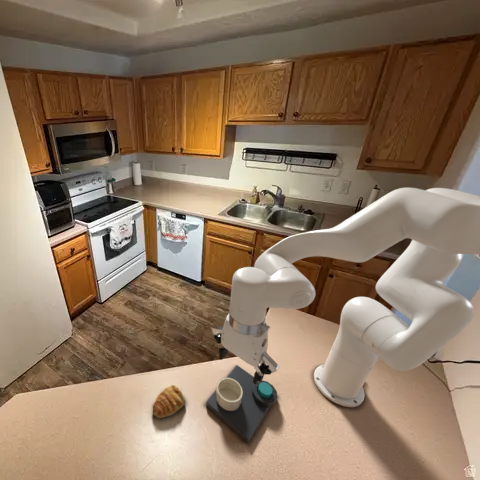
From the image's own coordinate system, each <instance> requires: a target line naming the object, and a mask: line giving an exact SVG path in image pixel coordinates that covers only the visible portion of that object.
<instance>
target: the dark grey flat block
mask: <svg viewBox="0 0 480 480" xmlns="http://www.w3.org/2000/svg"><path fill="white" fill-rule="evenodd" d="M225 378H231V379H234V380H236V381H237V382H238V383H239V384H240V386H241V387H242V391H243V394H242V400H241V404H240V406H239V408H238V409H236V410H234V411H228V410H225V409H223V408H222V407H221V406H220V405H219V404H218V402H217V400H216V390H217V388H215V389H216V390H215V391H214V392H213V393H212V394H211V396H210V397H209V398H208V399H207V401H206V403H205V406H206V407H207V408H208V409H210V410H211V411H212V412H213V414H215V415H216V417H218V418H219V419H220V420H222V421H223V422H224V423H225V424H226V425H227V426H228V427H230V428H231V429H232V430H233V431H234V432H235V433H236V434H237V435H238V436H239V437H241V438H242V439H243V440H244V441H245V442H246V443H247V444H249V442H250V441H251V439H252V437H253V436H254V434H255V432H256V431H257V429H258V427H259V426H260V424H261V422H262V421H263V420H264V417H265V416H266V415H267V413H268V411H269V409H270V408H271V407H272V406H274V405H275V404H276V402H277V400H278V391H277V390H276V388H275V386H274V385H273V384H272V383H270V382H268V381H267V380H263V379H262V381H261V382H260V381H258V382H257V384H256V385H255V384H254V383H253V379H254V375H252V374H250V373H249V372H248V371H247V370H244V369H243V368H242V367H240V366H239V365H238V364H236V365H235V366H234V368H232V370H231V371H230V372H229V374H228V375H227V376H226V377H225ZM262 382H265V383H268V384H269V385H270V386H271V387H272V394H271V397H270V398H263V397H261V396H260V395H259V393H258V387H259V384H260V383H262Z"/></svg>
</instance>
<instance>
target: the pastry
mask: <svg viewBox="0 0 480 480" xmlns="http://www.w3.org/2000/svg"><path fill="white" fill-rule="evenodd" d="M186 403H187V402H186V398H185V396H184V394H183V393H182V391H181V390H180V388H179V387H178V386H176V385H175V384H171V385H170V386H168V387H166V388H164V389H163V391H161V392H160V393H159V394H158V395H157V398H156V399H155V401H154V403H153V404H152V414H153V415H154V416H155V417H157V418H158V419H163V418H165V417H169V416H173V415H174V414H175V413H176V412H178V411H179V410H180V409H182V408H183V407H184V406H185V405H186Z"/></svg>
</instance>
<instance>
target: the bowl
mask: <svg viewBox="0 0 480 480" xmlns="http://www.w3.org/2000/svg"><path fill="white" fill-rule="evenodd" d="M216 389H217V390H215V391H216V400H217V402H218V404H219V405H220V406H221V407H222V408H223V409H225V410H228V411H234V410H236V409H238V408H239V406H240V404H241V400H242V394H243V391H242V387H241V386H240V384H239V383H238V382H237V381H236V380H234V379H231V378H226V377H223V378H221V379H220V380H218V382H217V384H216Z"/></svg>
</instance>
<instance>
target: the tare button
mask: <svg viewBox="0 0 480 480" xmlns="http://www.w3.org/2000/svg"><path fill="white" fill-rule="evenodd" d="M258 393H259V395H260V396H261V397H263V398H270V397H271V394H272V387H271V386H270V385H269V384H268V383H265V382H262V383H260V384H259V387H258Z"/></svg>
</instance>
